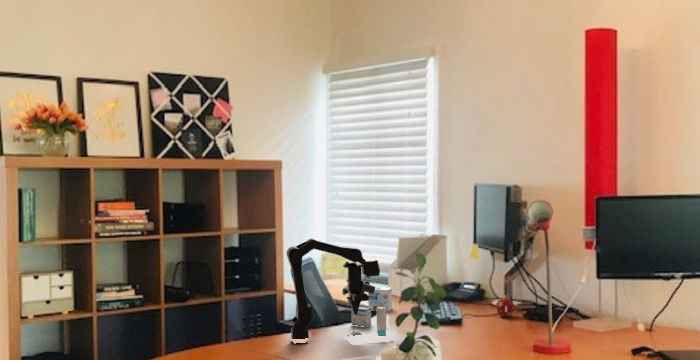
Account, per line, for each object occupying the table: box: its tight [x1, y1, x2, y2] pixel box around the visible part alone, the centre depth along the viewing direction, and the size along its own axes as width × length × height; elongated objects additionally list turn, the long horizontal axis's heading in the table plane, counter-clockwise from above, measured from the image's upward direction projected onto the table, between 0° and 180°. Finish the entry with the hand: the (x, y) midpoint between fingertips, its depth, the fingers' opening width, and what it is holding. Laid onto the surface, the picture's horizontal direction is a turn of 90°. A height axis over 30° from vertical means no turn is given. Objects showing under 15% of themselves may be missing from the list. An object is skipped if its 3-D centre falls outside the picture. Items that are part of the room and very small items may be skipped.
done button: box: [352, 329, 360, 335], centre depth 326 cm, size 3×3×2 cm
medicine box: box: [350, 306, 372, 328], centre depth 346 cm, size 8×4×9 cm, turn 62°
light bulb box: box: [367, 286, 393, 312], centre depth 381 cm, size 11×7×11 cm, turn 73°
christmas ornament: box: [495, 294, 516, 318], centre depth 359 cm, size 9×9×10 cm
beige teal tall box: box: [375, 307, 387, 336], centre depth 325 cm, size 4×4×12 cm
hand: (355, 314), depth 326 cm, fingers closed
